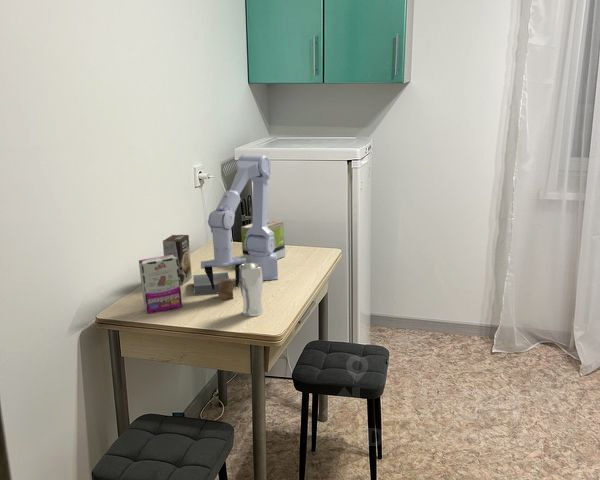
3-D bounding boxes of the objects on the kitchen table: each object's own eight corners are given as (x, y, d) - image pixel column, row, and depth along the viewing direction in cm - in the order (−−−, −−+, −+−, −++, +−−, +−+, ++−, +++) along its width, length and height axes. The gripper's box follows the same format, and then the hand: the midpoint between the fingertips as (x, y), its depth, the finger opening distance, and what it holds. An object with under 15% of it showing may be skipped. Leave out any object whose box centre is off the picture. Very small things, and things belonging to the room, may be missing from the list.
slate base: (228, 280, 209) (227, 272, 208) (230, 291, 198) (230, 283, 197) (193, 283, 207) (193, 275, 206) (194, 294, 196) (193, 286, 195)
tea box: (266, 253, 242) (264, 218, 238) (285, 256, 236) (284, 221, 232) (242, 262, 230) (240, 225, 226) (262, 266, 224) (260, 229, 220)
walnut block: (232, 294, 195) (231, 278, 194) (233, 299, 191) (232, 283, 190) (218, 295, 194) (217, 279, 193) (219, 300, 190) (218, 284, 189)
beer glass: (241, 309, 182) (238, 263, 178) (263, 308, 182) (261, 261, 178) (241, 317, 175) (238, 270, 171) (264, 316, 176) (262, 268, 172)
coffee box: (182, 285, 205) (179, 241, 201) (165, 285, 206) (161, 240, 202) (192, 277, 214) (189, 234, 209) (176, 276, 215) (172, 234, 211)
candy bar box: (178, 302, 189) (173, 253, 185) (182, 307, 185) (178, 257, 180) (143, 309, 184) (138, 259, 180) (147, 314, 180) (141, 263, 176)
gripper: (200, 252, 183) (203, 293, 187) (246, 248, 186) (248, 289, 189) (199, 246, 190) (202, 286, 193) (244, 243, 193) (246, 282, 196)
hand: (225, 287), depth 192 cm, fingers open, 7 cm apart
